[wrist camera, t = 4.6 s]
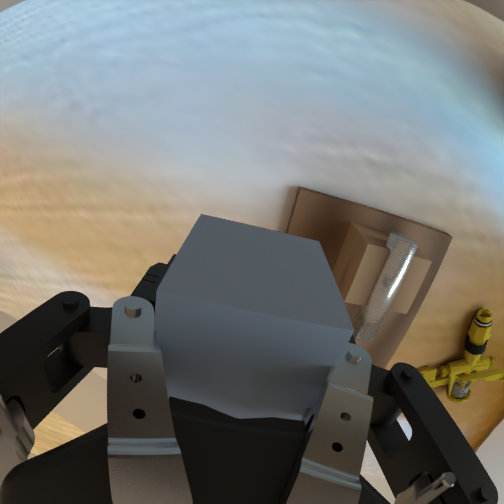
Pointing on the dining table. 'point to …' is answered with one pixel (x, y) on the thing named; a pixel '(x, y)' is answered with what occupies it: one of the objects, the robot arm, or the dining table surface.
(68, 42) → the dining table surface
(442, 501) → the robot arm
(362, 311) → the shaft
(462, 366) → the sprinkler
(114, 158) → the dining table surface
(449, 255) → the dining table surface
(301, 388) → the block
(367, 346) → the base board
